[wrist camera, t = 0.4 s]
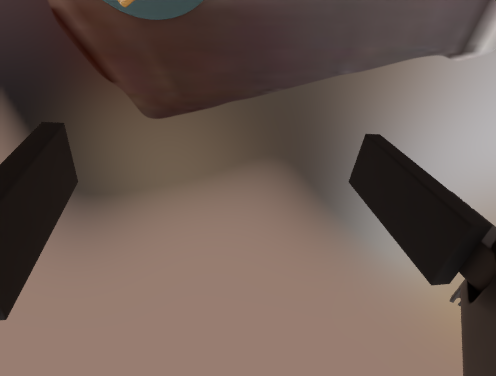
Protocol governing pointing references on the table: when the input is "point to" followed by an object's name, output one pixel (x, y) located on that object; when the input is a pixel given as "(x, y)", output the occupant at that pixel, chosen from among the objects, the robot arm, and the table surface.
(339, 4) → the table surface
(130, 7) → the tin lid
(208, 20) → the table surface
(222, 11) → the table surface
